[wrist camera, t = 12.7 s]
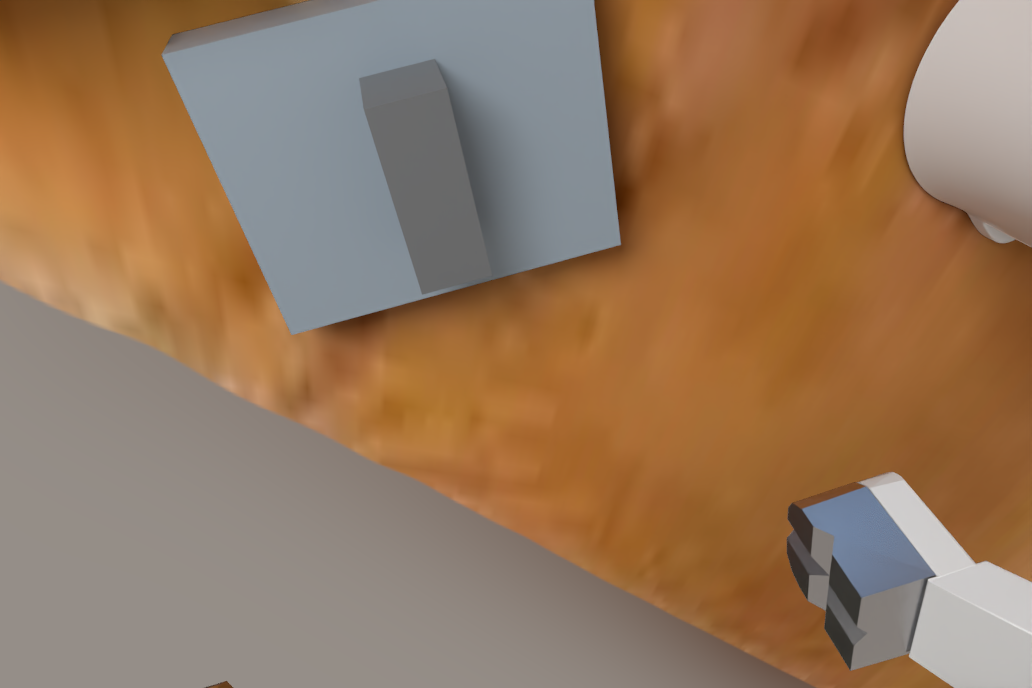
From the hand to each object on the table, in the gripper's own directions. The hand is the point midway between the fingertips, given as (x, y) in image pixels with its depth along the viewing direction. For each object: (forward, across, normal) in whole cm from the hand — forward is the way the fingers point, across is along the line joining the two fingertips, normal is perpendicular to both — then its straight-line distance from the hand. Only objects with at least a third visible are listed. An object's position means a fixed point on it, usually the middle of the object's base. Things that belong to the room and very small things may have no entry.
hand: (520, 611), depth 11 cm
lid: (+27, +1, -4) cm, 27 cm away
